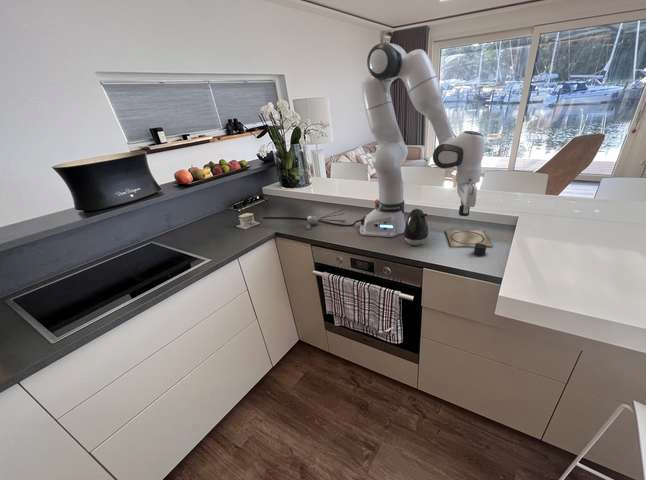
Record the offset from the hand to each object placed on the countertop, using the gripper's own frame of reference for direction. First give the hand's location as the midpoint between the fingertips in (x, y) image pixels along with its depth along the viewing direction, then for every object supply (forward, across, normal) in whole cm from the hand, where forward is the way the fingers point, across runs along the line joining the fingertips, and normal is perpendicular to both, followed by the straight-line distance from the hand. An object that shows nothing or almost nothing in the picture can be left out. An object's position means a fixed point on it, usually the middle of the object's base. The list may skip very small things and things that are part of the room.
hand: (464, 210), depth 118 cm
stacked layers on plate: (+12, +18, +108) cm, 111 cm away
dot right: (+13, -14, -5) cm, 20 cm away
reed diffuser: (+12, +17, +64) cm, 68 cm away
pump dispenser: (+13, -5, +20) cm, 24 cm away
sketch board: (+13, 0, -2) cm, 13 cm away
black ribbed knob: (+2, 0, 0) cm, 2 cm away
